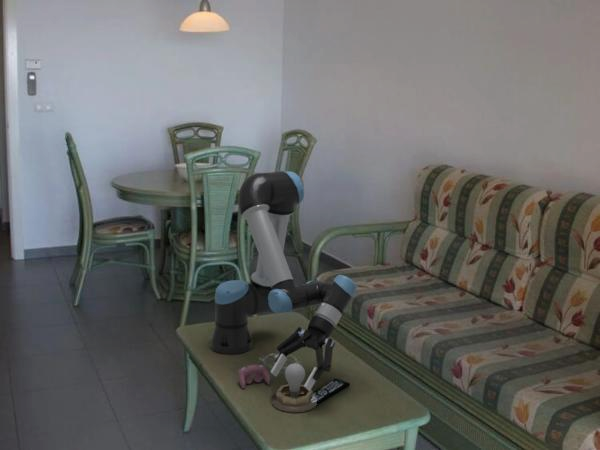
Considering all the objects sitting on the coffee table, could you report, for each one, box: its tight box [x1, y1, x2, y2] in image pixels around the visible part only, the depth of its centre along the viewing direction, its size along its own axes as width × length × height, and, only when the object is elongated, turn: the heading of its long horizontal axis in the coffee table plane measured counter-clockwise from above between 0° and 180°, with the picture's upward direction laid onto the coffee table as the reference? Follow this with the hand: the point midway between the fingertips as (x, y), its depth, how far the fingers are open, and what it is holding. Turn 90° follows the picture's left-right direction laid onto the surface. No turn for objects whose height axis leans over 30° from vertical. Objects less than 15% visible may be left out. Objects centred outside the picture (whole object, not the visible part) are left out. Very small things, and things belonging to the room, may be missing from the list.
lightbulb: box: [284, 362, 306, 398], centre depth 207 cm, size 6×6×11 cm
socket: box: [270, 383, 318, 414], centre depth 208 cm, size 14×14×4 cm
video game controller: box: [237, 364, 271, 390], centre depth 219 cm, size 10×5×7 cm, turn 112°
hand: (289, 381), depth 205 cm, fingers open, 13 cm apart
